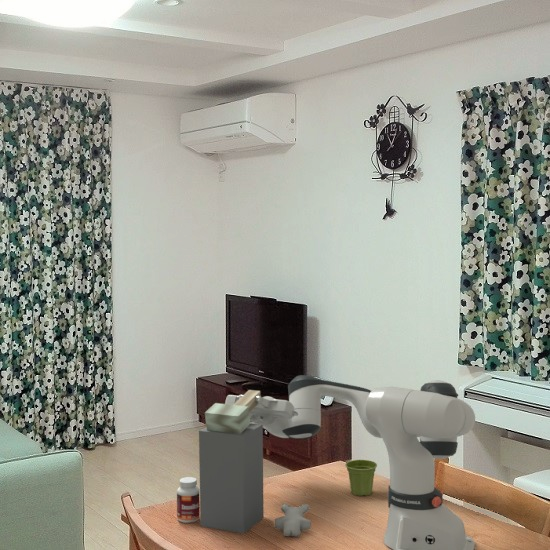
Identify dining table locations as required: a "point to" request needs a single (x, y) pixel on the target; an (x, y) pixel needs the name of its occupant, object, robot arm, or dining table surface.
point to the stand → (231, 478)
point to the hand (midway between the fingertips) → (249, 398)
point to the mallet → (231, 414)
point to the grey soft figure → (293, 520)
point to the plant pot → (361, 476)
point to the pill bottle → (188, 500)
